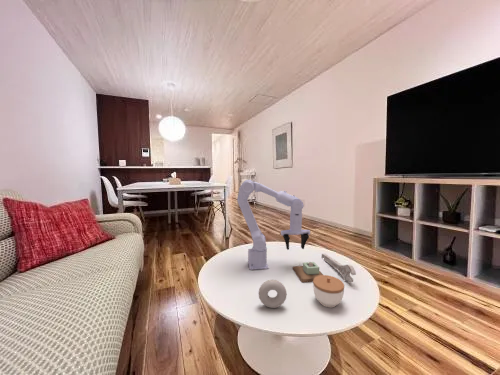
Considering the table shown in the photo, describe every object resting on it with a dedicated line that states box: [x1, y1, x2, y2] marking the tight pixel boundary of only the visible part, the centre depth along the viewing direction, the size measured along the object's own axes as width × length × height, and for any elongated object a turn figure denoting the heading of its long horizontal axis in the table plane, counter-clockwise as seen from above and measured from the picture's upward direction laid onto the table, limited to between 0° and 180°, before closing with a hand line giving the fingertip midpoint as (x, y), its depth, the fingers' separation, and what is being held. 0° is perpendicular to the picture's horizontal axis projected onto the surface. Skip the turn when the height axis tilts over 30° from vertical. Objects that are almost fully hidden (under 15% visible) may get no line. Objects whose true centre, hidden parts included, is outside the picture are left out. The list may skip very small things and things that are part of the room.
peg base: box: [292, 261, 324, 283], centre depth 98 cm, size 11×12×6 cm
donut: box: [258, 279, 288, 309], centre depth 75 cm, size 10×4×10 cm, turn 88°
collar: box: [302, 261, 320, 275], centre depth 98 cm, size 6×6×3 cm
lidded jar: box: [312, 274, 345, 308], centre depth 78 cm, size 11×11×9 cm
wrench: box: [321, 253, 357, 283], centre depth 102 cm, size 8×2×30 cm
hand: (295, 248), depth 105 cm, fingers open, 7 cm apart
